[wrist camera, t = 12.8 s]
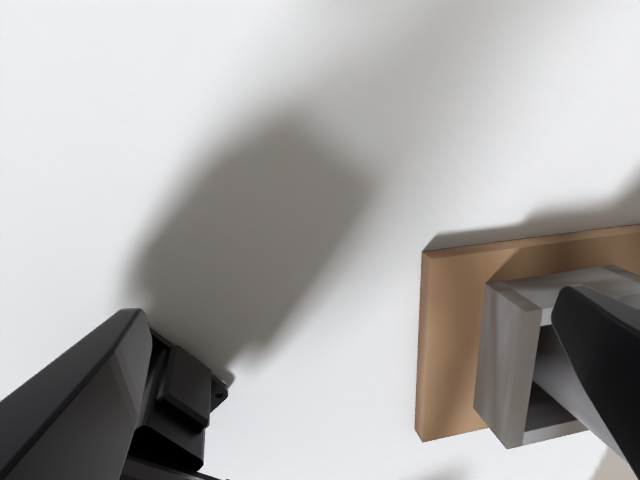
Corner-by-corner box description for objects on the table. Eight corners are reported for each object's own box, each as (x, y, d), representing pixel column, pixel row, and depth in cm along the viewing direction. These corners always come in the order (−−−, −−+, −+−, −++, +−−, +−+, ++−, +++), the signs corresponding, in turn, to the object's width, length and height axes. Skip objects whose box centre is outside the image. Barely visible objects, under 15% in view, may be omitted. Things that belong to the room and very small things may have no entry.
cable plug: (549, 376, 28) (771, 558, 17) (495, 361, 26) (701, 551, 15) (586, 314, 27) (847, 464, 16) (532, 295, 25) (780, 446, 14)
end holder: (414, 429, 28) (449, 488, 24) (421, 251, 24) (466, 285, 20) (610, 386, 31) (672, 432, 27) (648, 223, 27) (729, 246, 23)
